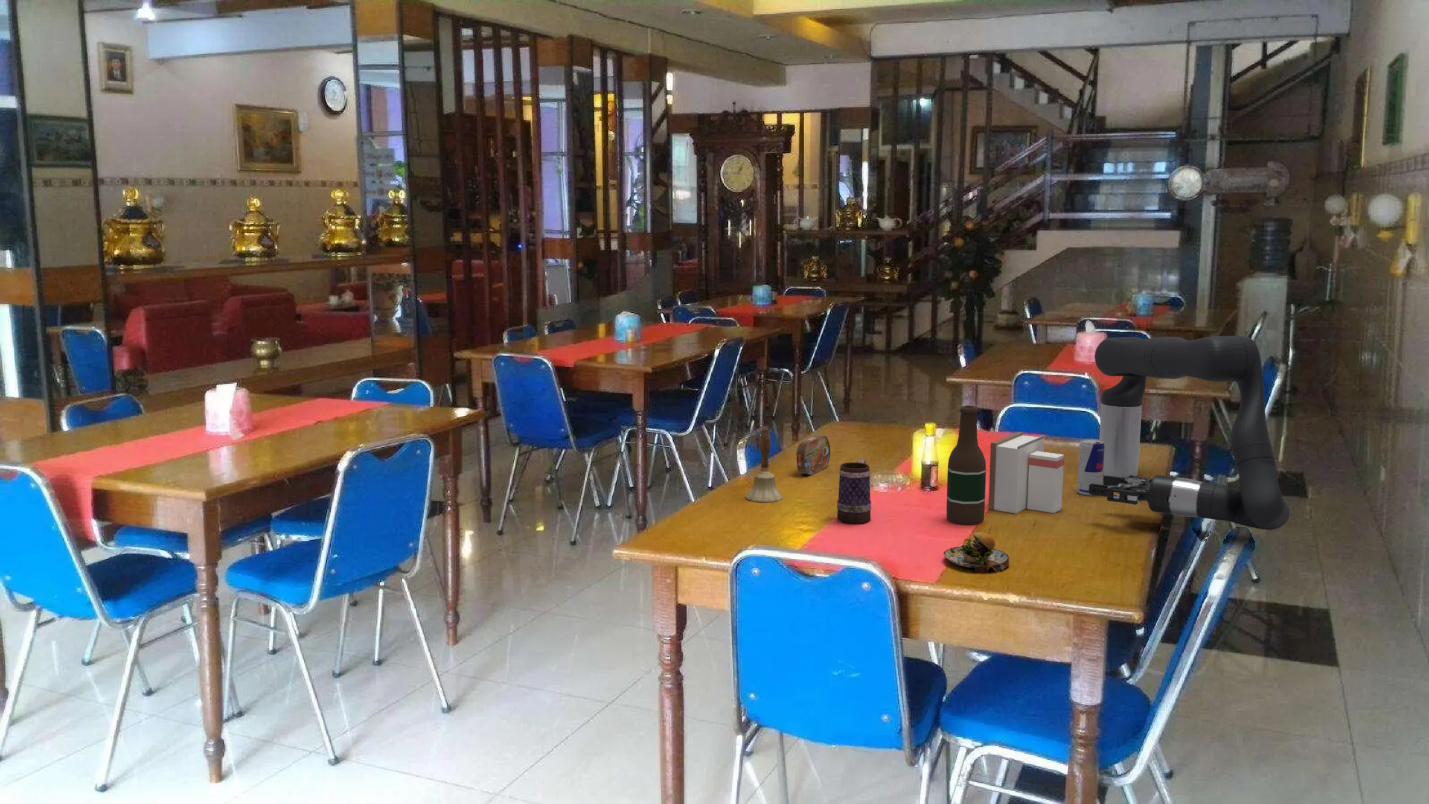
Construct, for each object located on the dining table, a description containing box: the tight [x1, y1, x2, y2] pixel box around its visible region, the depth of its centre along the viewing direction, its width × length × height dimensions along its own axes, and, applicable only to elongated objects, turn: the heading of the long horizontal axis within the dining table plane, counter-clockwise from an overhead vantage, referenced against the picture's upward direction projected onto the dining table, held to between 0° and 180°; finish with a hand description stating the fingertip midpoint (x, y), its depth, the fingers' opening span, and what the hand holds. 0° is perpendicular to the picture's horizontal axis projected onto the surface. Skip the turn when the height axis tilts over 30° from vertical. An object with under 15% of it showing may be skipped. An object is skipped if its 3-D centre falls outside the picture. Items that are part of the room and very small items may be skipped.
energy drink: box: [1077, 438, 1105, 497], centre depth 256 cm, size 5×5×12 cm
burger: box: [943, 525, 1010, 574], centre depth 207 cm, size 12×12×8 cm
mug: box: [836, 457, 872, 525], centre depth 237 cm, size 10×7×12 cm
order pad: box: [987, 431, 1045, 514], centre depth 247 cm, size 14×6×15 cm, turn 142°
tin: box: [795, 435, 831, 476], centre depth 279 cm, size 15×3×8 cm, turn 150°
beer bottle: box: [946, 405, 987, 526], centre depth 234 cm, size 8×8×24 cm
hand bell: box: [745, 427, 784, 503], centre depth 253 cm, size 8×8×16 cm
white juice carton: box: [1026, 451, 1065, 514], centre depth 243 cm, size 4×6×12 cm
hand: (1096, 484), depth 236 cm, fingers open, 8 cm apart
